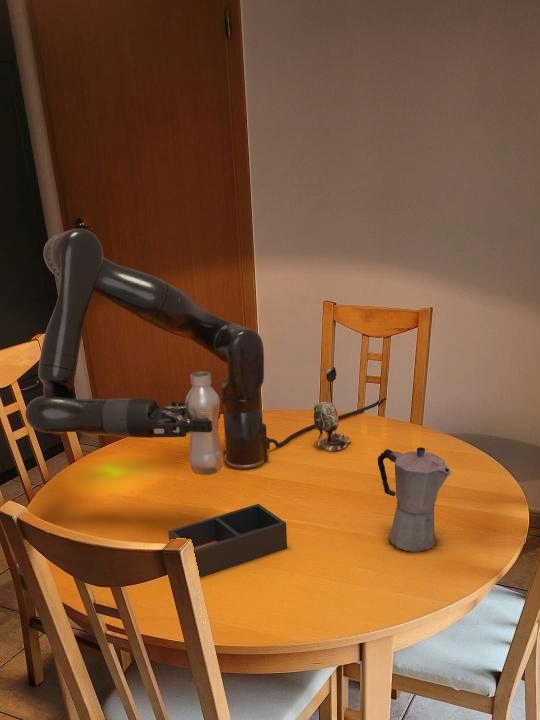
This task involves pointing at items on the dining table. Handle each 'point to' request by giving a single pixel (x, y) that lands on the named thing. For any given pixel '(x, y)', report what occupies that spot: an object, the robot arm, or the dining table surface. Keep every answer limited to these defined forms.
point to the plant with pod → (329, 420)
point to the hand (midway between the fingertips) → (215, 420)
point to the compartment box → (233, 538)
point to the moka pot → (414, 496)
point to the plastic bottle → (204, 407)
